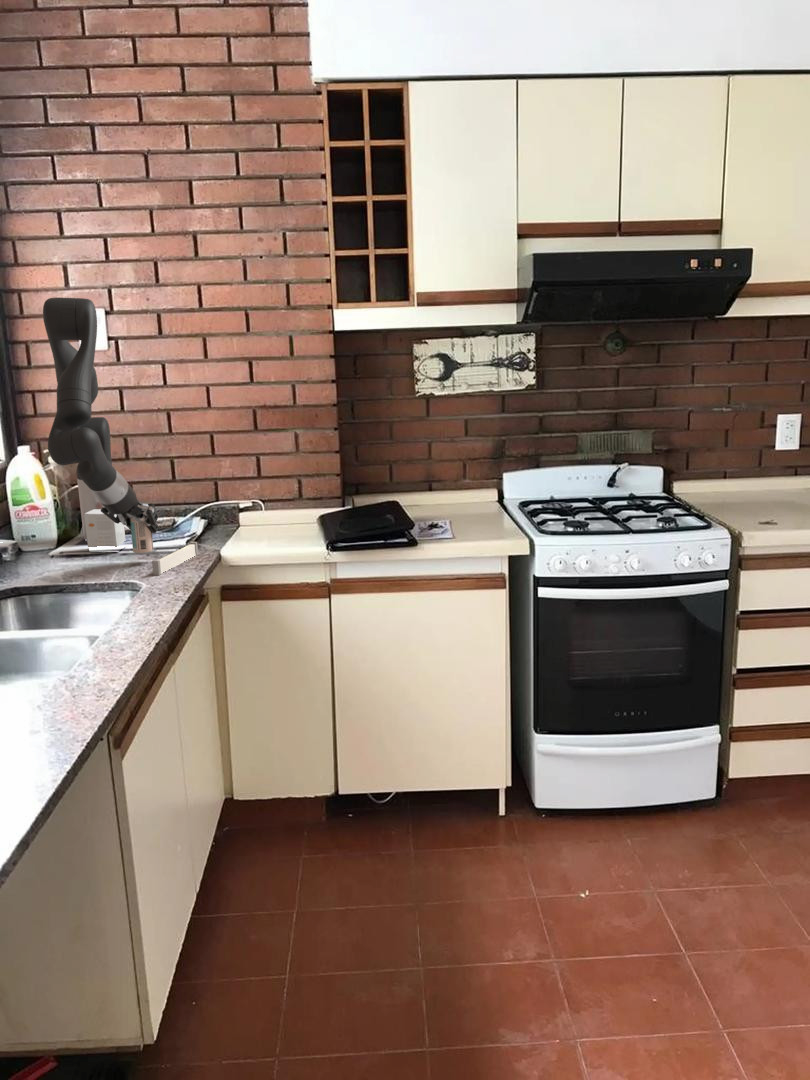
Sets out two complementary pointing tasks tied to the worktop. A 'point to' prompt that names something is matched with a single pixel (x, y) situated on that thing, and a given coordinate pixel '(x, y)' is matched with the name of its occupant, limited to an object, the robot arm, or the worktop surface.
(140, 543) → the beige blue canister
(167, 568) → the rail
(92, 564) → the worktop surface
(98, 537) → the small box
